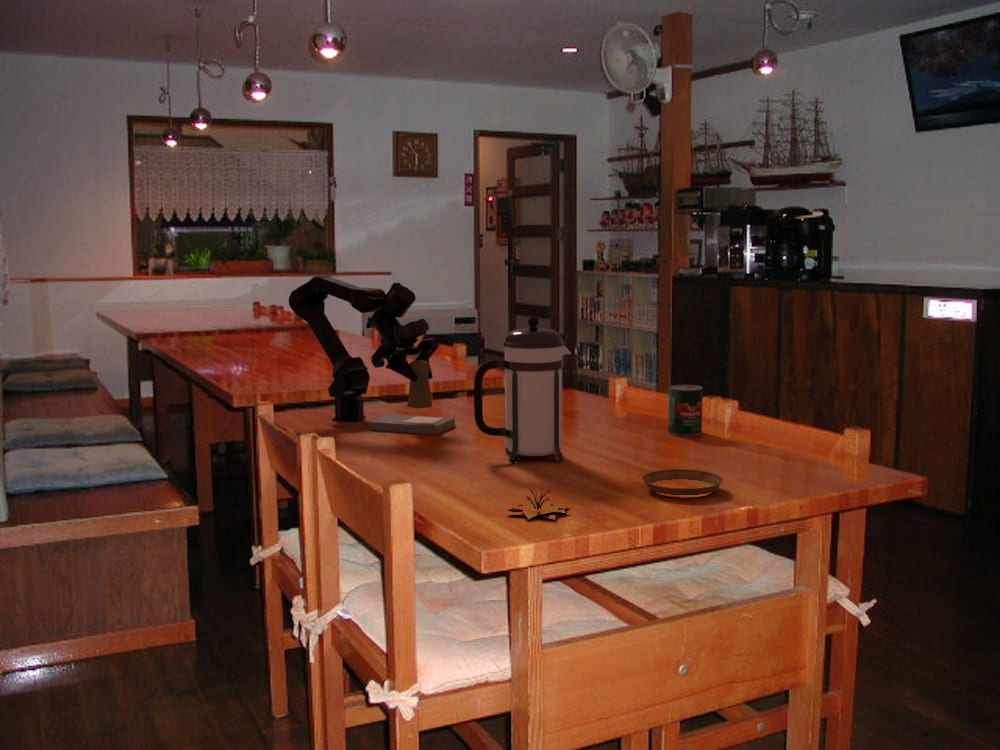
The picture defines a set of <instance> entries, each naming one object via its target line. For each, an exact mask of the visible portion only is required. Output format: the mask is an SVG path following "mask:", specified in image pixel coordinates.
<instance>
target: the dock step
mask: <svg viewBox="0 0 1000 750" xmlns="http://www.w3.org/2000/svg"><path fill="white" fill-rule="evenodd" d="M454 427H456V418H454V417H439V416H423V415H411V414H408V415H407V414H396V413H389V414H387V415H384V416H382V417H379V418H375V419H373V420H371V421H368V430H369V431H379V432H393V433H405V434H406V433H407V434H420V435H421V434H422V435H423V434H424V435H435V436H436V435H439V434H440V433H443V432H445V431H448V430H449V429H452V428H454Z"/></svg>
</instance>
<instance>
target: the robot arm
mask: <svg viewBox="0 0 1000 750" xmlns="http://www.w3.org/2000/svg"><path fill="white" fill-rule="evenodd" d="M329 296H331V297H334V298H338V299H340V300H342V301H345V302H347V303H349V304H350V305H351V307H352V308H353V309H355V310H356V311H358V312H359V313H362V314H369V313H373V314H372V315H371V316H369V317H367V321H366V324H365V325H366V329H374V328H375V330H376V331H377V333H378V334H379V336H380V338H381V340H380V341H379V343H380V345H379V346H378V348H377V349H376V350H375V352H373V354H372V355H371V356H370V359H371V364H372V365H373V367H374V368H375V369H377V368H384V367H385V368H386V370H391V371H393V372H394V373H396V374H398V375H401V376H403V377H405V378H406V379H407V380H409V381H410V380H411V381H413V382H416V381H417V377H416V375H415V373H414V372H413V370H412V368H411V367H410V365H409V364H410V362H408V360H407V359H408V358H407V357H411V358H413V361H416V360H423V361H427V362H428V363H429V364H430V358H431V357H432V356H433V355H434V354H435V352H436V351H437V350H438V348H439V347H440V343H439V341H438V340H437V339H436V338H425V339H422V340H421V341H420V342H419V344H418V345H415V344H416V343H418V341H419V339H418V338H419V337H421V336H423V335H426V334H427V333H428V331H429V330H430V326H429V323H428V321H426V319H425V318H419V319H418V320H415V321H410V322H408V323H405V324H403V325H402V324H401V322H400V321H399V320H398V318H403V317H404V316H405V314H407V312H408V311H409V310H410V308H412V307H411V306H412V305H413V304H414V303H415V301H416V299H417V298H416V295H415V292H414V291H412V290H411V289H410V288H408V287H407V286H404V285H402V284H401V282H393V283H392V284H391V286H390V288H389V289H388V291H387V292H386V291H384V289H382V288H378V287H377V288H376V287H361V286H360V287H359V286H357V285H354V284H351V283H348V282H346V281H343V280H340V279H337V278H335V277H332V276H331V275H329V274H326V275H325V274H324V275H314V276H313V277H312V278H311V279H310V280H308V281H307V282H305V283H303V284H302V285H300V286H298V287H297V288H296V289H293V290H292V291H291V292H290V294H289V296H288V304H289V306H290V307H289V308H290V309H291V310H292V312H293V313H294V314H295V315H296V316H297V317H298V318H299V319H301V320H303V321H305V322H306V323H307V324H308V326H309V327H310V329H311V330H312V332H313V333H314V336H315V337H316V339H317V340H318V342H319V344H320V346H321V347H322V349H323V351H324V352H325V354H326V355H327V357H328V359H329V360H330V362H331V364H332V378H333V381H332V383H331V384H330V386H329V387H328V389H327V390H328V391H327V392H328V394H329V397H330V398H334V414H335V415H334V417H332V418H331V420H333V421H345V422H356V421H360V420H361V419H364V418H366V415H365V414H364V411H365V409H364V400H363V399H362V398H363V397H362V396H363V395H366V394H367V392H368V388H369V383H370V378H371V377H370V372H369V371H368V370H369V368H368V366H366V365H365V362H364V360H363V359H362V358H361V356H356V357H354V356H353V357H352V356H351V355H350V353H349V351H348V350H347V348H346V347H345V345H344V343H343V342H342V340H341V339H340V337H339V335H338V334H337V332H336V330H335V329H334V327H333V325H332V323H331V322H330V320H329V319H328V317H327V315H326V313H325V309H326V308H325V306H326V303H325V301H326V300H327V299H328V297H329ZM385 360H386V361H385ZM385 362H387V364H386V363H385ZM385 364H386V365H385ZM430 365H431V364H430ZM433 377H434V376H433V372H432V367H431V366H430V372H429V373H428V379H429V380H431V379H433Z"/></svg>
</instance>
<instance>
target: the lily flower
mask: <svg viewBox="0 0 1000 750" xmlns="http://www.w3.org/2000/svg"><path fill="white" fill-rule="evenodd" d="M543 488H544V487H541V492H540V494H539V495H540V496H538V493H537V492H536V490H535V487H532V489H533V490H534V492H533V490H532V489H529V492H530V493H531V494H532V495H533V498H534V502H535V503H534V502H533V500H532V499H531V498H530V495H529V496H528V495H525V497H526V500H528V501H529V502H530V504H533V506H534V508H535V509H536V507H535V505H534V504H536V505H537V510H538V509H539V508H540V509H541V506H542V504H543V503H545V502H546V501H550V498H549V496H547V497H546V495H548V494H550V493H552V491H551V488H549V489H547V491H546V492H544V493H543ZM544 497H546V498H545V499H544ZM540 503H541V505H540ZM550 504H551V506H553V507H554V503H550ZM517 505H518V506H523V505H522V504H517ZM511 508H512V507H511ZM511 510H516V511H519V510H518V509H516V508H514V509H513V508H512V509H511ZM558 510H566V509H563V508H558ZM556 513H557V514H561V513H560V512H559V513H558V512H555V513H554V514H556ZM522 515H524V513H523V514H522Z"/></svg>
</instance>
